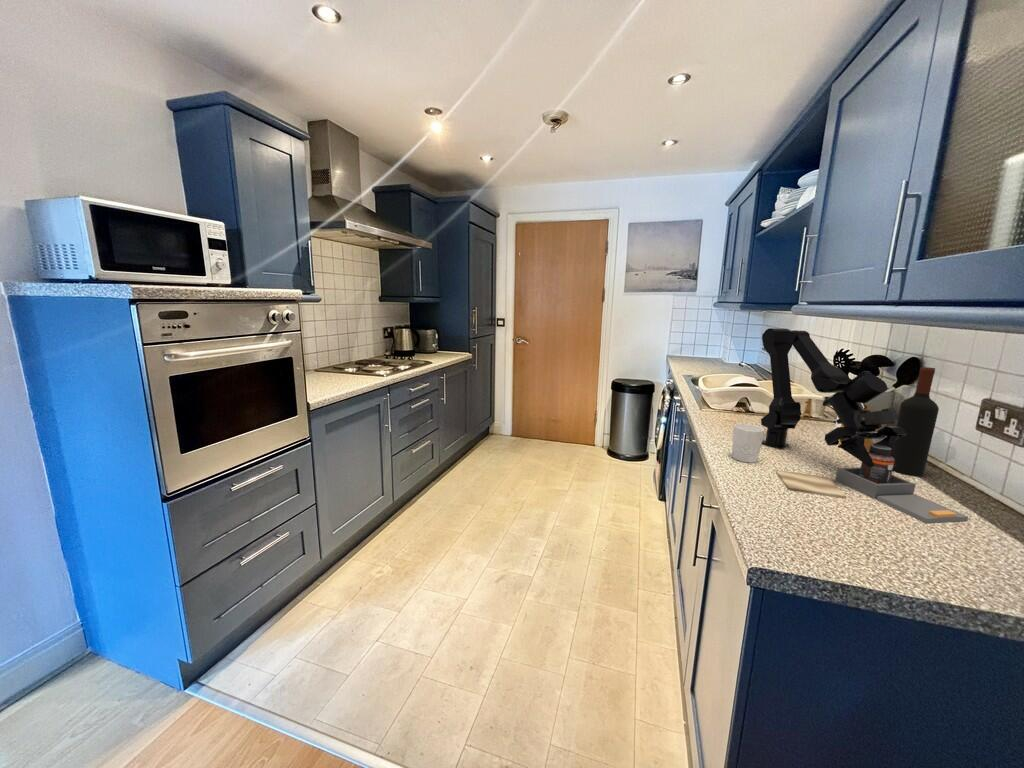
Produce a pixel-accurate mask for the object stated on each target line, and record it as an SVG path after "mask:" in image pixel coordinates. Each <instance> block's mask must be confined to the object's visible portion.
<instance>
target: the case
mask: <svg viewBox="0 0 1024 768" xmlns="http://www.w3.org/2000/svg"><path fill="white" fill-rule="evenodd" d="M860 469H861V466H860V467H837V470H836V476H835V481H836V482H838V483H840V484H842V485H844V486H846V487H849V488H851V489H853V490H855V491H857V492H859V493H862V495H863V494H864V495H865V496H867V497H870V498H872V499H874V500H876V501H879V502H880V503H883V504H885V505H886V506H889V507H892V508H893V509H896V510H897V511H899V512H902V513H903V514H905V515H908V516H909V517H913V518H914V519H915V520H918V521H920V522H922V523H925V524H931V523H951V522H953V521H954V522H967V521H969V516H967V515H965V514H963V513H961V512H958V511H956V510H954V509H951V508H948V507H946V506H943V505H942V504H939V503H938V502H934V501H932V500H929V499H927V498H925V497H923V496H920V495H919V494H915V489H916V485H917V484H916V483H914V482H911V481H909V480H907V479H904V478H901V477H899V476H896V475H894V474H892V475H891V480H890V484H876V483H874V482H872V481H869V480H867V479H865V478H862V477H860V476H859V474H860Z"/></svg>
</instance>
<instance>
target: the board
mask: <svg viewBox="0 0 1024 768" xmlns="http://www.w3.org/2000/svg"><path fill="white" fill-rule="evenodd" d="M775 473H776V475H777V476H778V477H779V479H780V480H781V482H782V483H783V484H784V486H785V488H786V489H787V491H793V492H800V493H806V494H813V495H814V494H815V495H821V496H826V497H834V498H835V497H836V498H840V499H847V495H846V494H845V493H844V492H843V491H842V490H841V489H840V488H839V487H838V486H837V485H836V484H835V483H834V482H833V481H832V480H831V479H830V478H829V477H828V476H822V475H816V474H815V475H814V474H810V473H809V474H807V473H800V472H793V471H786V470H778V469H775Z"/></svg>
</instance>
